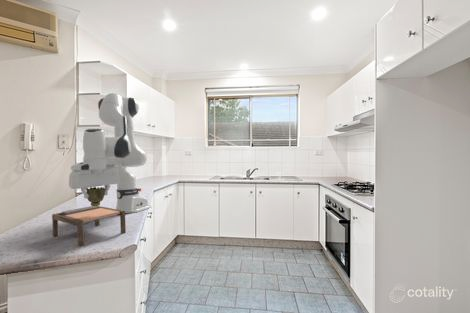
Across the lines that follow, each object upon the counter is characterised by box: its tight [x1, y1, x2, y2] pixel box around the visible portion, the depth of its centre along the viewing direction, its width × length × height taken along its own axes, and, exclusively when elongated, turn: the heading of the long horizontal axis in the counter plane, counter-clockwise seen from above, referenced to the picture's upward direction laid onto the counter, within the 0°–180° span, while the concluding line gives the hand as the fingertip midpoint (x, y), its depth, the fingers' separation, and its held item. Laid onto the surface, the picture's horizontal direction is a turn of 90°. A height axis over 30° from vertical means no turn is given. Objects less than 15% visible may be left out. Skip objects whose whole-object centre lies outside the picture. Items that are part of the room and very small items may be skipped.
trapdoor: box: [61, 205, 120, 222], centre depth 113 cm, size 16×21×2 cm
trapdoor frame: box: [51, 205, 127, 247], centre depth 114 cm, size 20×24×10 cm
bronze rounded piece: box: [85, 186, 106, 206], centre depth 109 cm, size 8×7×8 cm
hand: (96, 196), depth 110 cm, fingers closed on bronze rounded piece, 6 cm apart
